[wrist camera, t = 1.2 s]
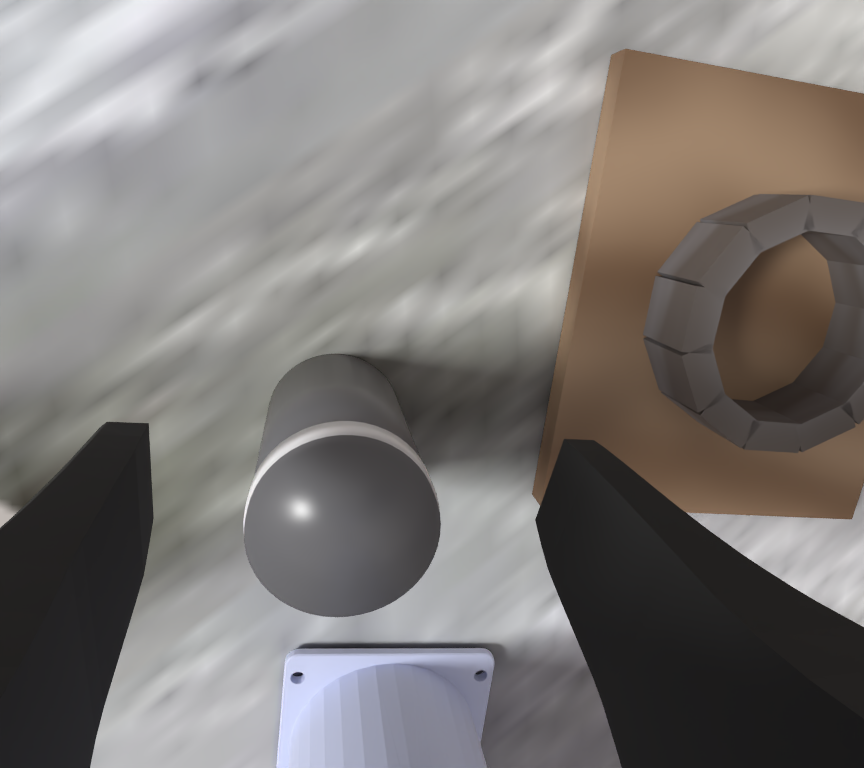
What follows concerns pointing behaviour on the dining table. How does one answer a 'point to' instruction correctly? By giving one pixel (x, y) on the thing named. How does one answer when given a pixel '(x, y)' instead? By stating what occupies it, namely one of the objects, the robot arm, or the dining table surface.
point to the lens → (339, 493)
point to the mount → (719, 292)
